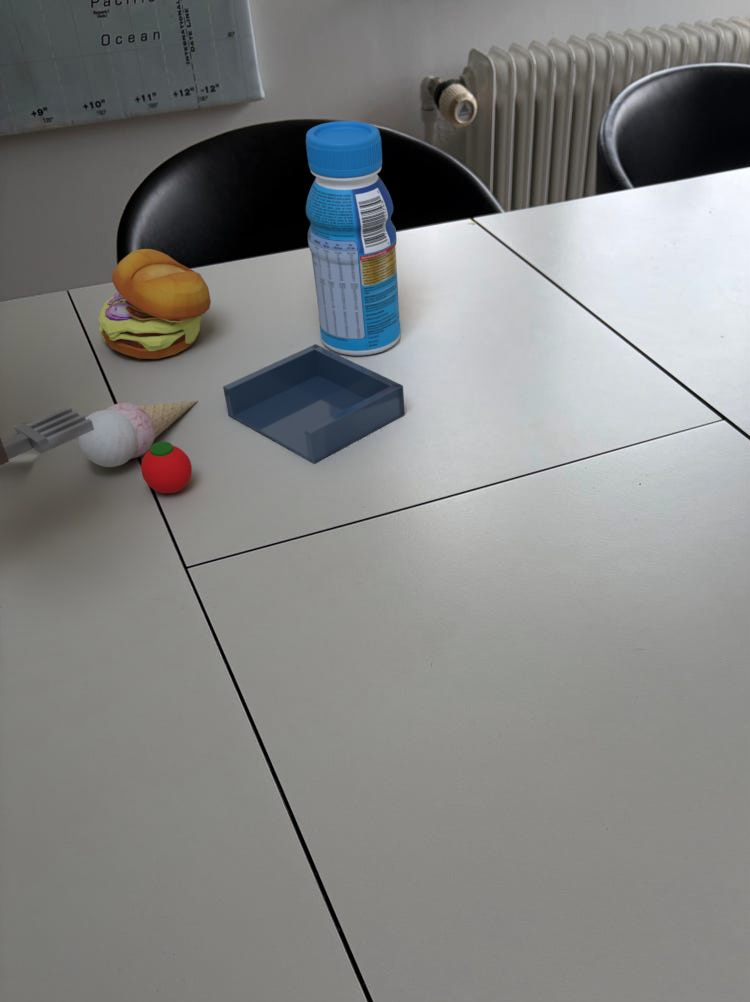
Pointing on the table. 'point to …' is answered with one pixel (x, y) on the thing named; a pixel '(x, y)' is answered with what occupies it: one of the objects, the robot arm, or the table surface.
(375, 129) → the beverage bottle
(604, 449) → the table surface
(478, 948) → the table surface
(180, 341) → the cheeseburger
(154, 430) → the ice cream cone
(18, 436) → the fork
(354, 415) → the tray
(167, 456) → the tomato
